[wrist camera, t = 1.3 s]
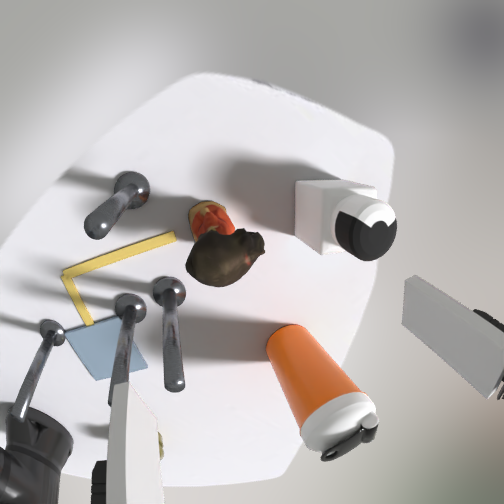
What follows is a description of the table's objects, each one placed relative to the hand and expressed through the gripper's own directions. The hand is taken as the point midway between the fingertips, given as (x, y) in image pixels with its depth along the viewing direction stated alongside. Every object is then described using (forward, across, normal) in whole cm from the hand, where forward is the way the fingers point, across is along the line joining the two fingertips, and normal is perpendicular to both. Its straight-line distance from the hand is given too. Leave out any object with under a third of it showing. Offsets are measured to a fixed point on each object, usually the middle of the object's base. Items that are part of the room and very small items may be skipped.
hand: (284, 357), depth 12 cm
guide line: (+23, -12, -4) cm, 26 cm away
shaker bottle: (+24, +6, -21) cm, 32 cm away
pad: (+23, -19, -12) cm, 33 cm away
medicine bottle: (+24, +14, -2) cm, 27 cm away
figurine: (+24, 0, 0) cm, 24 cm away
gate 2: (+23, -7, 0) cm, 24 cm away
